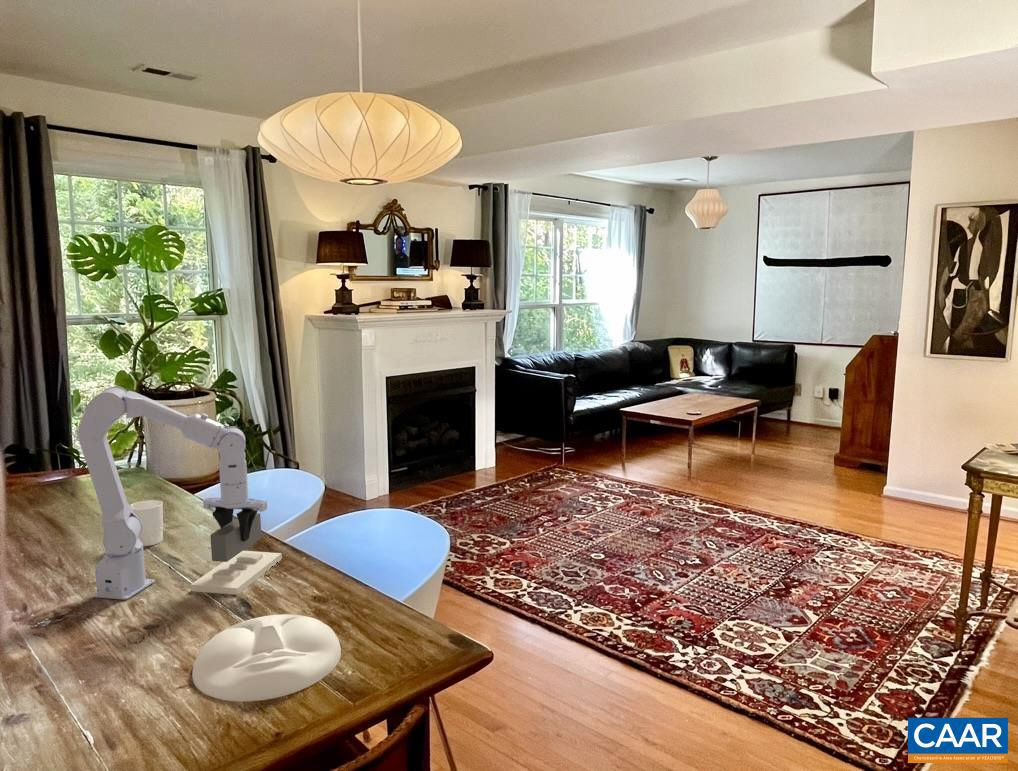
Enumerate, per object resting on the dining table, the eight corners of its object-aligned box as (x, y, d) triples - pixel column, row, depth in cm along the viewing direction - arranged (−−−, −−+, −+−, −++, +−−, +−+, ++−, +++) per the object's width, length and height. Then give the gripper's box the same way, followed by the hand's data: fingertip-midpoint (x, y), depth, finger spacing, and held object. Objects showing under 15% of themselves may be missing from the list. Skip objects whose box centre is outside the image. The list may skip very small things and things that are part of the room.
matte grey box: (226, 561, 153) (225, 535, 152) (212, 560, 154) (210, 534, 153) (261, 537, 168) (260, 513, 167) (247, 536, 168) (246, 512, 167)
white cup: (140, 550, 176) (137, 511, 175) (125, 543, 181) (122, 505, 179) (171, 540, 182) (168, 503, 181) (156, 534, 187) (153, 498, 186)
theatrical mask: (184, 669, 108) (193, 601, 131) (188, 717, 109) (195, 641, 132) (349, 640, 117) (330, 581, 140) (350, 684, 118) (331, 619, 141)
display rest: (237, 594, 151) (237, 583, 150) (190, 591, 153) (190, 580, 152) (282, 559, 170) (281, 549, 170) (240, 556, 172) (239, 546, 172)
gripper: (272, 478, 161) (275, 535, 163) (214, 475, 163) (217, 531, 165) (256, 487, 154) (259, 546, 156) (196, 483, 156) (200, 542, 158)
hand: (237, 539), depth 160 cm, fingers closed on matte grey box, 3 cm apart
